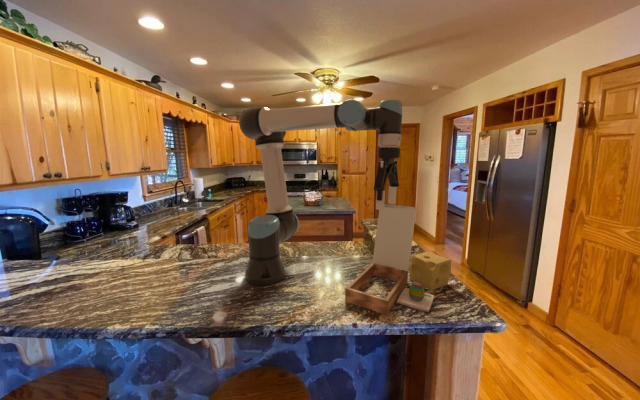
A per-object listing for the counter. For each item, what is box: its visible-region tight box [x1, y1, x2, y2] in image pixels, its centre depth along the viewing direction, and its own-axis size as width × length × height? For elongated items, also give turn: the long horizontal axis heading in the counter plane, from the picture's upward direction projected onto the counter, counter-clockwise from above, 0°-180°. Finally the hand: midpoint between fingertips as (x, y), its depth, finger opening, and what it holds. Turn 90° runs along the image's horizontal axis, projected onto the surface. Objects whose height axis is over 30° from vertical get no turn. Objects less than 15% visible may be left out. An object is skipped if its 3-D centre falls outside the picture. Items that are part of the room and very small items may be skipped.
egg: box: [409, 281, 426, 302], centre depth 85 cm, size 5×5×6 cm
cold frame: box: [344, 262, 409, 316], centre depth 92 cm, size 14×29×14 cm, turn 148°
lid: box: [371, 203, 417, 272], centre depth 102 cm, size 14×24×1 cm
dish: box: [396, 287, 435, 313], centre depth 85 cm, size 10×10×1 cm
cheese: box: [409, 251, 452, 292], centre depth 98 cm, size 10×11×10 cm
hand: (386, 206), depth 95 cm, fingers open, 13 cm apart
